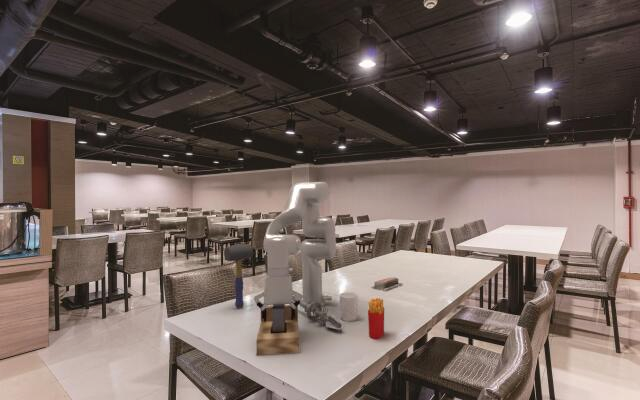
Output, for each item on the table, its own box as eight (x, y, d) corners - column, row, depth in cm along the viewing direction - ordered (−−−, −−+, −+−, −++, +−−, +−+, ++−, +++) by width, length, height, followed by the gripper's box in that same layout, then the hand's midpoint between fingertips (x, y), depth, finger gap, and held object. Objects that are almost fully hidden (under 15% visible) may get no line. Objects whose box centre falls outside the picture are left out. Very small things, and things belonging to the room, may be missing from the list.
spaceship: (301, 290, 149) (288, 287, 145) (351, 319, 121) (337, 315, 117) (295, 306, 148) (282, 303, 143) (345, 339, 120) (330, 337, 116)
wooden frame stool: (298, 330, 122) (297, 304, 122) (299, 352, 104) (299, 322, 104) (261, 332, 120) (261, 306, 120) (256, 355, 102) (256, 324, 102)
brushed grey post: (285, 336, 116) (284, 301, 116) (284, 346, 108) (284, 308, 108) (274, 337, 116) (273, 302, 116) (272, 347, 108) (272, 309, 108)
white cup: (346, 323, 128) (345, 298, 129) (336, 317, 135) (335, 293, 136) (361, 319, 132) (361, 295, 132) (351, 314, 139) (351, 291, 139)
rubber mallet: (230, 312, 143) (230, 246, 143) (223, 308, 148) (222, 245, 149) (254, 306, 151) (254, 244, 151) (247, 302, 157) (246, 242, 157)
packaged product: (385, 283, 173) (370, 280, 181) (385, 292, 173) (371, 289, 180) (402, 277, 186) (388, 275, 193) (403, 286, 186) (388, 283, 193)
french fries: (376, 340, 112) (376, 304, 112) (365, 338, 114) (365, 302, 114) (387, 332, 119) (386, 297, 119) (376, 329, 122) (376, 295, 122)
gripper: (301, 268, 117) (302, 314, 117) (254, 270, 115) (255, 317, 115) (302, 273, 109) (303, 322, 109) (252, 275, 108) (253, 325, 107)
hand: (278, 319), depth 112 cm, fingers open, 9 cm apart
